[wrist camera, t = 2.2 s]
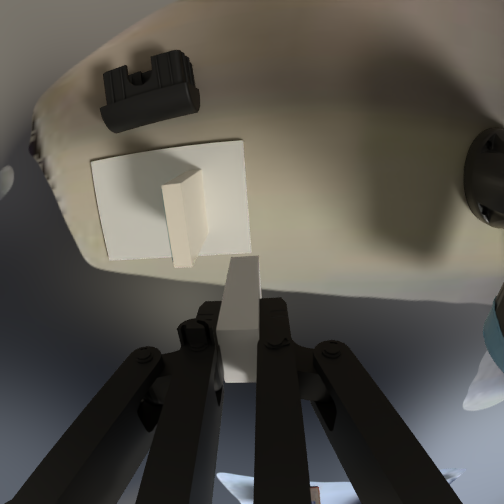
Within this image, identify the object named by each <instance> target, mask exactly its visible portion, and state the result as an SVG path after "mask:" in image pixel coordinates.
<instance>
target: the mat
mask: <svg viewBox="0 0 504 504" xmlns="http://www.w3.org/2000/svg"><path fill="white" fill-rule="evenodd" d="M91 166H92V173H93V180H94V186H95V192H96V198H97V204H98V209H99V214H100V220H101V224H102V229H103V234H104V238H105V243H106V247H107V252H108V256H109V260H129V259H148V258H167V257H172V255H171V249H170V243H169V237H168V231H167V225H166V218H165V211H164V205H163V197H162V190H161V189H162V185H163V184H165V183H166V182H168V181H170V180H172V179H173V178H175V177H177V176H179V175H180V174H182V173H184V172H186V171H189V170H198V169H202V177H203V187H204V196H205V205H206V214H207V223H208V231H209V233H208V235H207V237H206V239H205V242H204V244H203V246H202V248H201V250H200V252H199V254H198V256H204V255H223V254H242V253H251V239H250V225H249V212H248V199H247V185H246V172H245V159H244V145H243V140H239V141H227V142H216V143H206V144H197V145H189V146H181V147H173V148H166V149H159V150H152V151H146V152H140V153H134V154H128V155H123V156H117V157H112V158H107V159H102V160H97V161H93V162H91Z"/></svg>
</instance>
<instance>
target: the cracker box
mask: <svg viewBox="0 0 504 504" xmlns="http://www.w3.org/2000/svg"><path fill="white" fill-rule="evenodd" d="M310 491H311V502H312V504H320V493H319V487H312V488H310Z"/></svg>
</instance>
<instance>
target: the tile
mask: <svg viewBox="0 0 504 504" xmlns="http://www.w3.org/2000/svg"><path fill="white" fill-rule="evenodd" d="M161 190H162V197H163V205H164V211H165V218H166V225H167V231H168V237H169V243H170V249H171V255H172V260H173V262H174V268H179V267H193V265H194V262H195V260H196V258H197V256H198V254H199V252H200V250H201V248H202V246H203V244H204V242H205V239H206V237H207V235H208V233H209V231H208V223H207V214H206V205H205V196H204V187H203V177H202V169H198V170H189V171H186V172H184V173H182V174H180V175H179V176H177V177H175V178H173V179H172V180H170V181H168V182H166V183H165V184H163V185H162V189H161Z"/></svg>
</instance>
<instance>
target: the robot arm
mask: <svg viewBox="0 0 504 504" xmlns="http://www.w3.org/2000/svg"><path fill="white" fill-rule="evenodd" d="M464 188H465V194H466V198H467V201H468V204H469V206H470V208H471V210H472V212H473V213H474V215H475V216H476V217H477V218H478V219H479V220H481V221H482V222H484V223H486V224H488V225H490V226H492V227H495V228H503V229H504V129H500V128H490V129H487V130H485V131H483V132H482V133H481V134H479V135H478V136H477V138H476V139H475V140H474V142H473V143H472V145H471V147H470V149H469V152H468V155H467V158H466V162H465V169H464ZM177 330H178V335H179V338H180V342H181V348H180V350H178V351H175V352H172V353H167V354H161V352H160V351H159V350H158V349H157V348H155V347H150V346H146V347H141V348H139V349H136V350H134V351H133V352H132V353H131V354H130V355H129V356H128V357H127V359H126V360H125V361H124V362H123V363H122V364H121V366H120V367H119V368H118V369H117V370H116V371H115V373H114V374H113V375H112V376H111V378H110V379H109V380H108V381H107V382H106V383H105V385H104V386H103V387H102V388H101V389H100V391H99V392H98V393H97V394H96V395H95V396H94V398H93V399H92V400H91V401H90V403H89V404H88V405H87V406H86V407H85V409H84V410H83V411H82V412H81V413H80V415H79V416H78V417H77V418H76V420H75V421H74V422H73V423H72V425H71V426H70V427H69V428H68V429H67V431H66V432H65V433H64V434H63V435H62V437H61V438H60V439H59V440H58V442H57V443H56V444H55V446H54V447H53V448H52V449H51V450H50V452H49V453H48V454H47V455H46V457H45V458H44V459H43V460H42V462H41V463H40V464H39V465H38V467H37V468H36V469H35V471H34V472H33V473H32V474H31V476H30V477H29V478H28V480H27V481H26V482H25V483H24V485H23V486H22V487H21V489H20V490H19V491H18V492H17V494H16V495H15V496H14V498H13V499H12V500H10V501H8V502H7V503H5V504H117V502H118V500H119V499H120V497H121V495H122V494H123V492H124V490H125V489H126V487H127V485H128V484H129V482H130V481H131V479H132V477H133V476H134V474H135V472H136V471H137V469H138V467H139V466H140V464H141V462H142V461H143V459H144V457H145V456H146V454H147V453H148V451H149V449H150V451H149V455H148V459H147V462H146V466H145V469H144V473H143V477H142V481H141V484H140V488H139V492H138V496H137V500H136V503H135V504H212V497H213V487H214V478H215V469H216V460H217V451H218V442H219V434H220V425H221V416H222V407H223V399H224V387H223V377H224V379H225V382H226V383H234V382H256V425H255V466H254V501H253V504H312V502H311V491H310V481H309V471H308V461H307V451H306V442H305V433H304V425H303V415H302V407H301V399H305V400H310V402H311V405H312V407H313V409H314V411H315V413H316V415H317V417H318V419H319V421H320V423H321V425H322V427H323V429H324V431H325V433H326V435H327V437H328V439H329V441H330V443H331V445H332V447H333V449H334V451H335V453H336V454H337V457H338V459H339V461H340V463H341V464H342V467H343V468H344V470H345V472H346V474H347V476H348V478H349V480H350V482H351V484H352V486H353V488H354V490H355V492H356V494H357V496H358V498H359V500H360V502H361V503H362V504H463V503H462V502H461V501H460V499H459V498H458V496H457V495H456V493H455V492H454V491H453V489H452V488H451V486H450V485H449V483H448V482H447V481H446V479H445V478H444V476H443V475H442V473H441V472H440V471H439V469H438V468H437V466H436V465H435V464H434V462H433V461H432V459H431V458H430V457H429V455H428V454H427V453H426V451H425V450H424V448H423V447H422V446H421V444H420V443H419V441H418V440H417V439H416V437H415V436H414V435H413V433H412V432H411V430H410V429H409V428H408V426H407V425H406V423H405V422H404V421H403V419H402V418H401V417H400V415H399V414H398V413H397V411H396V410H395V409H394V407H393V406H392V404H391V403H390V402H389V400H388V399H387V398H386V396H385V395H384V394H383V392H382V391H381V390H380V388H379V387H378V386H377V384H376V383H375V382H374V380H373V379H372V378H371V376H370V375H369V373H368V372H367V371H366V370H365V368H364V367H363V366H362V364H361V363H360V362H359V360H358V359H357V358H356V356H355V355H354V354H353V352H352V351H351V350H350V348H349V347H348V346H347V345H345V344H344V343H342V342H340V341H335V340H329V341H323V342H321V343H319V344H318V345H317V346H316V347H315V349H311V348H306V347H302V346H299V345H298V344H296V343H295V342H294V341H293V340H292V338H291V333H290V325H289V318H288V311H287V304H286V302H285V301H284V300H283V299H282V298H281V297H280V298H261V282H260V267H259V256H245V257H231V260H230V265H229V270H228V274H227V279H226V284H225V289H224V294H223V299H222V301H206V302H204V303H203V304H202V305H201V306H200V307H199V310H198V313H197V316H196V318H195V319H189V320H187V321H184V322H183V323H181V324H180V325H179V326H178V328H177ZM483 336H484V340H485V345H486V347H487V350H488V352H489V354H490V356H491V357H492V359H493V360H494V362H495V363H496V365H497V366H498V367H499V368H500V370H501V371H502V372H503V373H504V283H503V285H502V287H501V289H500V291H499V293H498V295H497V296H496V297H495V299H494V301H493V306H492V308H491V310H490V312H489V315H488V317H487V319H486V321H485V323H484V327H483Z"/></svg>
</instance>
